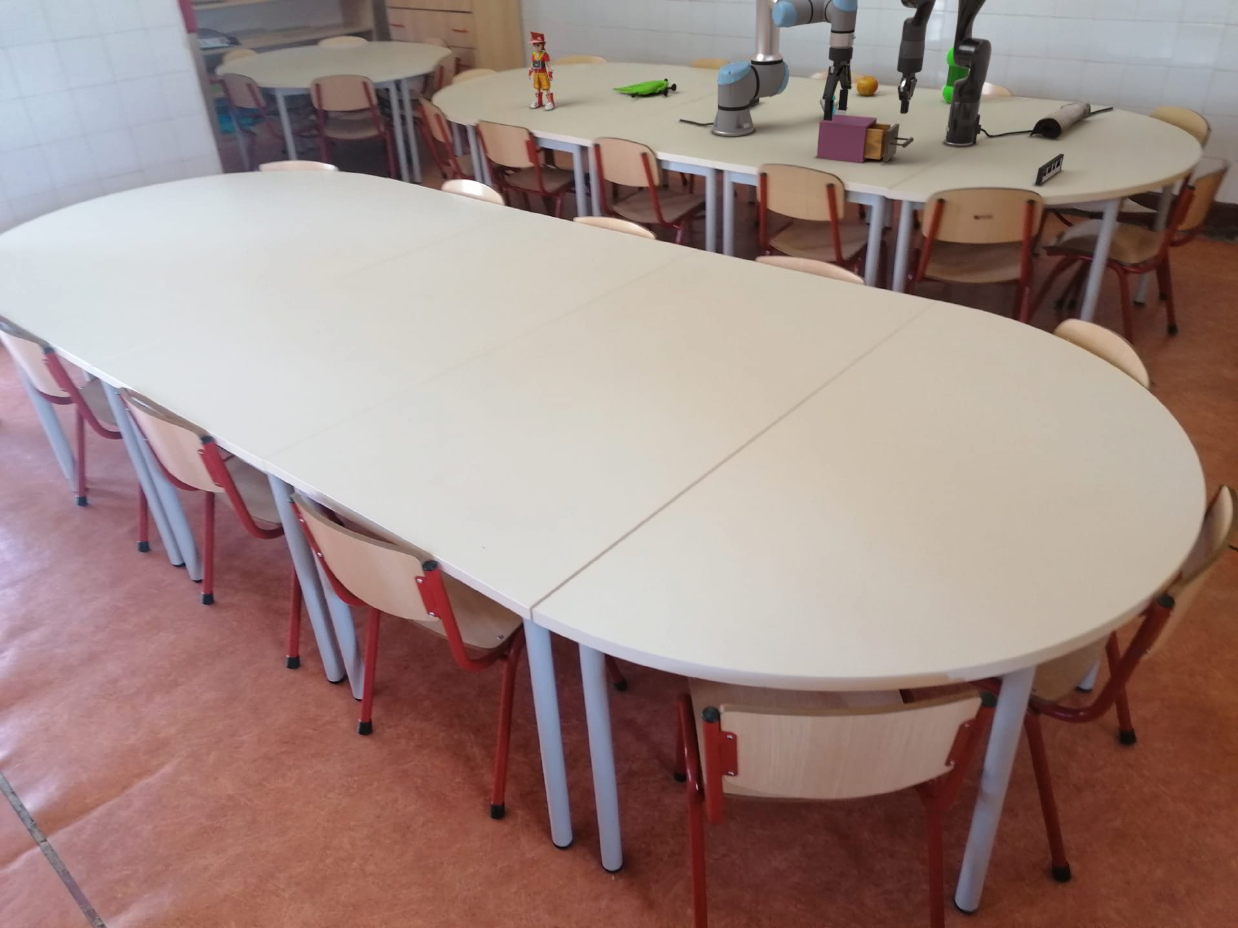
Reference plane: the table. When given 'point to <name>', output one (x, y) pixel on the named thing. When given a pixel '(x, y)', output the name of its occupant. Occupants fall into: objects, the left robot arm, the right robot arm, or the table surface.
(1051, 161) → the midi keyboard
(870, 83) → the fruit
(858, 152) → the cabinet
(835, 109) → the anatomical model
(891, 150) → the drawer
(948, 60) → the green dumbbell
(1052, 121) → the rolled mat
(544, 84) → the toy
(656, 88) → the toy
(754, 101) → the disk drive
